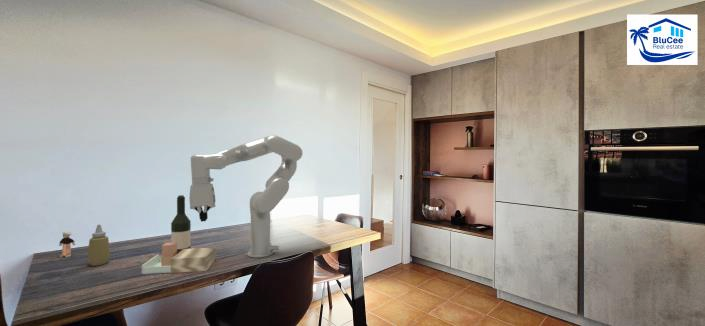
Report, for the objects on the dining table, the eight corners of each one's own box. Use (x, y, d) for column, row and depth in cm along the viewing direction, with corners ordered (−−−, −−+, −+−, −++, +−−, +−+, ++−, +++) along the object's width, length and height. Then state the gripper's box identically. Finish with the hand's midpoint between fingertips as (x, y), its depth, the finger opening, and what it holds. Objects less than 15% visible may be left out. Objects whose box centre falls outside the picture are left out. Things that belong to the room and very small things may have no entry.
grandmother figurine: (54, 258, 141) (54, 232, 141) (60, 255, 145) (60, 230, 145) (73, 257, 143) (72, 231, 143) (78, 254, 146) (78, 229, 146)
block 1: (177, 242, 131) (166, 242, 130) (173, 245, 127) (161, 245, 126) (177, 253, 131) (166, 254, 130) (173, 256, 127) (161, 256, 126)
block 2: (176, 253, 131) (165, 254, 130) (172, 256, 127) (161, 256, 126) (176, 264, 131) (165, 265, 130) (172, 267, 127) (161, 268, 126)
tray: (183, 261, 136) (183, 253, 136) (170, 273, 122) (170, 263, 122) (157, 263, 134) (157, 254, 134) (141, 274, 120) (141, 265, 120)
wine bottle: (181, 258, 141) (181, 196, 141) (167, 257, 142) (167, 196, 142) (194, 253, 149) (194, 194, 149) (180, 252, 151) (180, 194, 150)
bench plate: (215, 259, 139) (215, 247, 139) (206, 270, 125) (206, 256, 125) (183, 261, 136) (183, 248, 136) (170, 273, 122) (170, 258, 122)
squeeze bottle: (114, 262, 136) (114, 223, 135) (94, 268, 128) (94, 227, 128) (103, 260, 138) (103, 222, 138) (82, 265, 131) (82, 226, 130)
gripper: (220, 179, 139) (223, 217, 139) (186, 181, 136) (189, 220, 136) (216, 181, 131) (218, 221, 132) (180, 183, 128) (183, 224, 129)
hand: (203, 220), depth 134 cm, fingers closed
